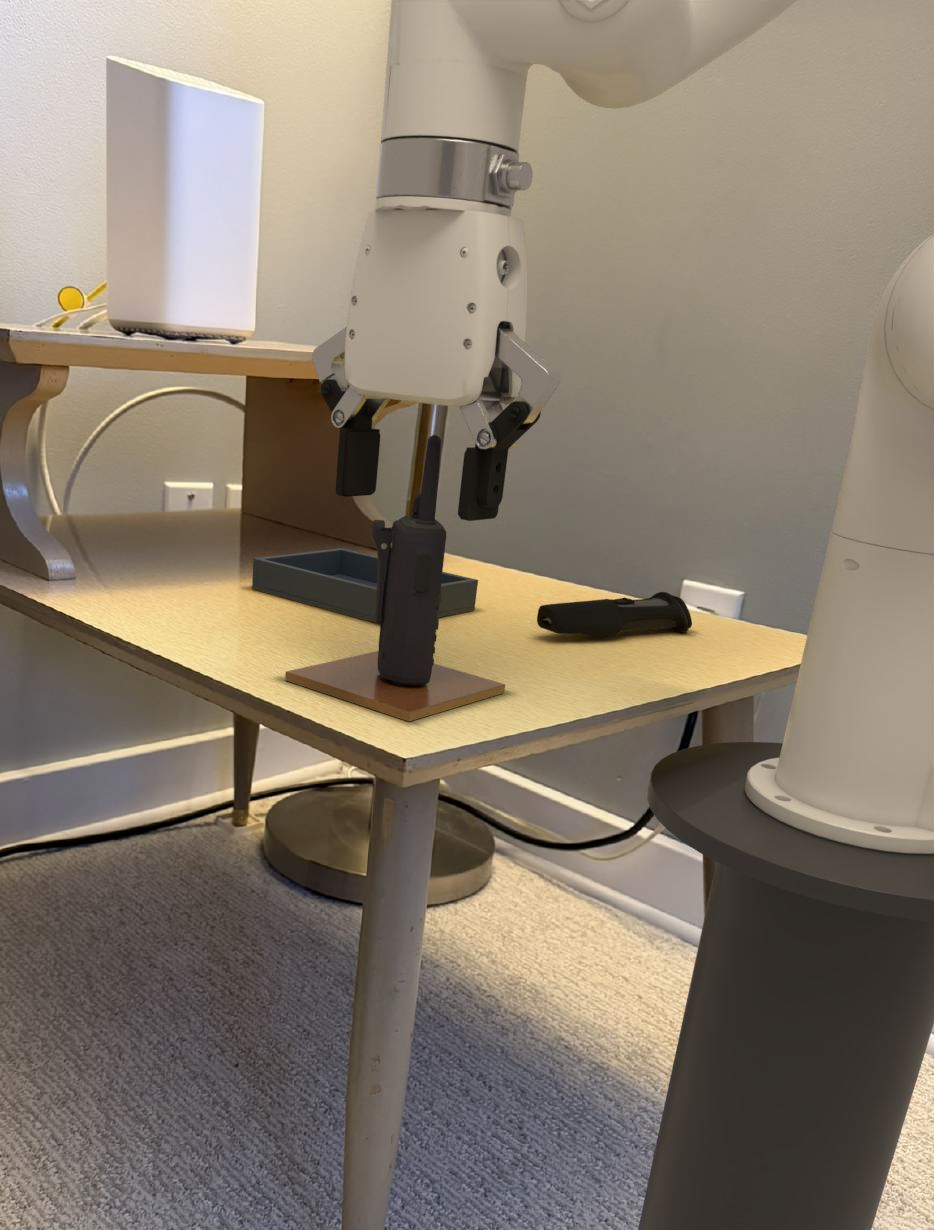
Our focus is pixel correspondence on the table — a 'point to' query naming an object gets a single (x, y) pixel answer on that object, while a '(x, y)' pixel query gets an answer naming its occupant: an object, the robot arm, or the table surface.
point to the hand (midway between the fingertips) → (414, 505)
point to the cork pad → (394, 687)
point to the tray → (345, 582)
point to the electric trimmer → (615, 615)
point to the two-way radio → (411, 583)
